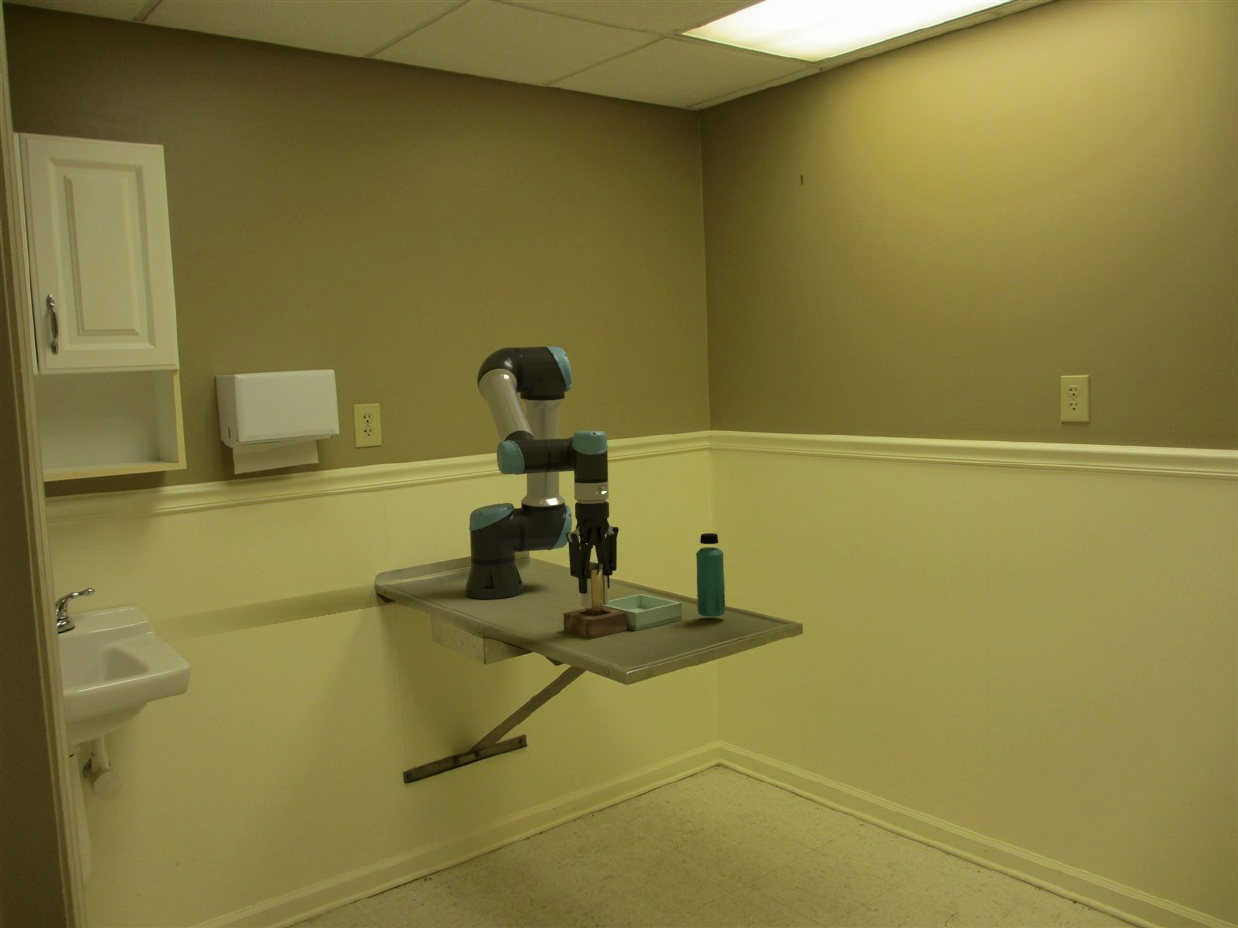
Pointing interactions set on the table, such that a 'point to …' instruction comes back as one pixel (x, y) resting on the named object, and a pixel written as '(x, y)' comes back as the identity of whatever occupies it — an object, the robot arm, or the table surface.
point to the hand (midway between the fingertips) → (594, 605)
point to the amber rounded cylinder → (596, 589)
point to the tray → (647, 610)
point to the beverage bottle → (710, 578)
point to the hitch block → (595, 623)
